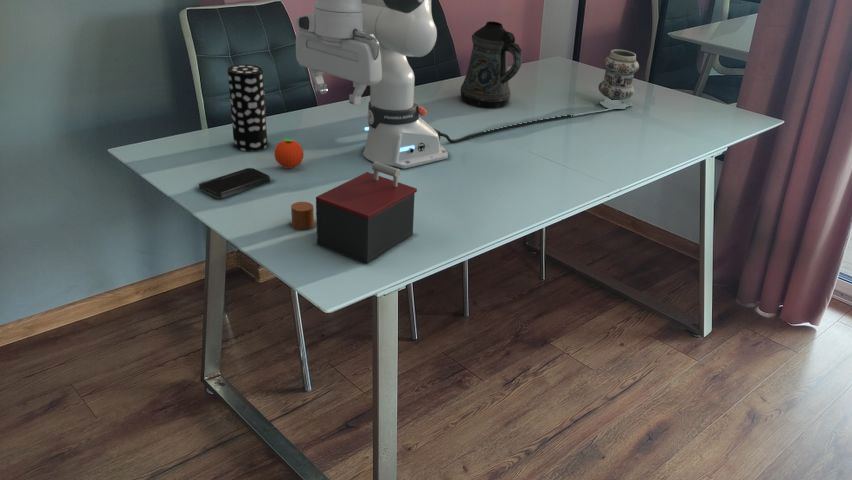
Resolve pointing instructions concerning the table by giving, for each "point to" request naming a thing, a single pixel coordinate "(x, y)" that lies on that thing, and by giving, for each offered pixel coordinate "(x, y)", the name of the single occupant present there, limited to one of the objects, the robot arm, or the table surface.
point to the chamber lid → (368, 192)
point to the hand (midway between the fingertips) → (337, 98)
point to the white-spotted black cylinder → (247, 107)
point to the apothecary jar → (619, 75)
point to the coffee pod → (302, 215)
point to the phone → (234, 183)
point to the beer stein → (490, 67)
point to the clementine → (288, 153)
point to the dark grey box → (364, 230)
